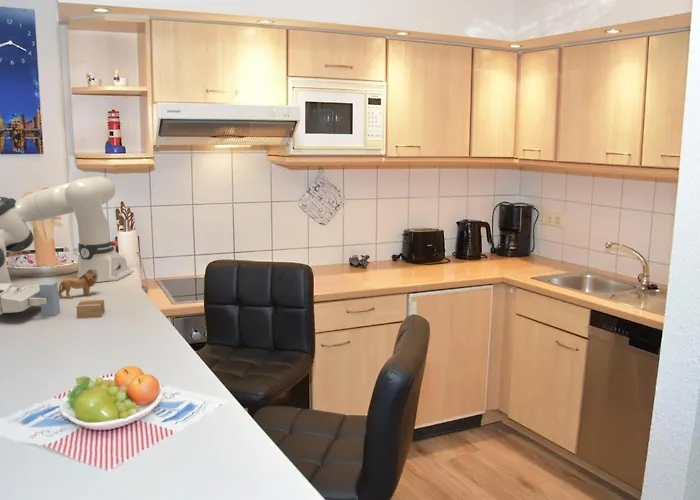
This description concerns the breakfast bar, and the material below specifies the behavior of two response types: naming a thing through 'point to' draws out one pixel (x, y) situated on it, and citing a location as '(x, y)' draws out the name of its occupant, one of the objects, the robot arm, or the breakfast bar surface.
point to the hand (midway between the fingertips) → (52, 297)
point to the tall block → (50, 298)
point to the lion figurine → (79, 283)
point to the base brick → (90, 308)
